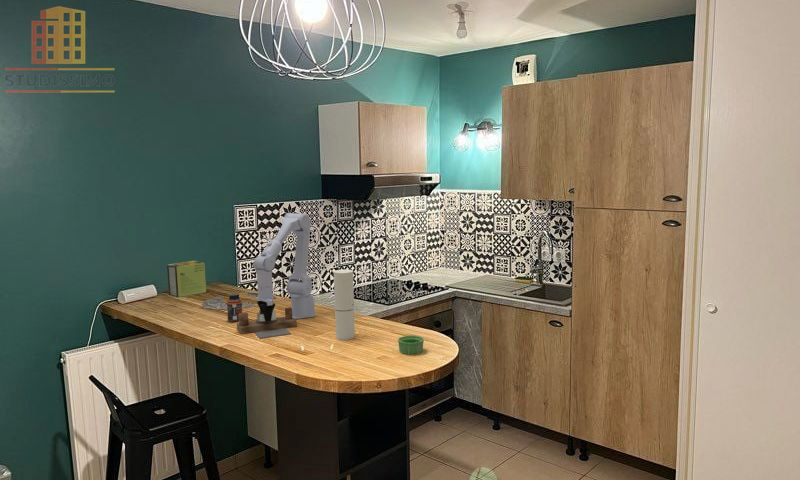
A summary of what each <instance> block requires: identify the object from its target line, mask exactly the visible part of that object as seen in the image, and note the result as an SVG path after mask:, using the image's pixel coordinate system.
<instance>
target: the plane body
mask: <svg viewBox="0 0 800 480" xmlns="http://www.w3.org/2000/svg"><path fill="white" fill-rule="evenodd" d="M297 324H298V323H297V319H294V318H293V317H292V306H290V307H284V316H283V317H276V320H271V321H267V322H266V321H262V322H260V321H259V320H258V319H255V320H252V321H251V320H250V321H249V312H242V313H239V321H238V322H236V330H237V332H239V334H240V335H246V334H252V333H253V334H255V332H262V331H269V330H276V329H284V328H286V329H289V328H297V327H298V326H297Z"/></svg>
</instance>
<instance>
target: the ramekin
mask: <svg viewBox="0 0 800 480" xmlns="http://www.w3.org/2000/svg"><path fill="white" fill-rule="evenodd" d="M424 342H425V338H424V337H422V336H419V335H403V336H400V337H398V339H397V343H398V349H399V352H400V353H401V354H402V355H403V354H404V355H408V354H409V355H411V354H413V355H418V353H419V354H421V353H422V352H424V351H423V350H424Z"/></svg>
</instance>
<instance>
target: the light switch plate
mask: <svg viewBox="0 0 800 480" xmlns="http://www.w3.org/2000/svg"><path fill="white" fill-rule="evenodd" d="M276 313H277V312H276V311H274V310H273V313H272V318H271V320H276V318H277V314H276ZM256 320H259V321H260V322H262V321H265V318H264V313H263V310H260V309H259V311H258V312H256Z"/></svg>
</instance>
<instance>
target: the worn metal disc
mask: <svg viewBox="0 0 800 480" xmlns="http://www.w3.org/2000/svg"><path fill="white" fill-rule="evenodd" d="M247 293H248V294H247V295H248V296H249V295H250V296H252V297H254V296H256V297H258V296H257V295H258V292H247ZM223 297H224V296H223V295H219V296H214V297H211V298H208V299H206V300H204V301H203V302H202V303H201V306H202V308H203V309H207V310H211V311H227V303H226V304H225V302H223V301H224V298H223ZM256 297H255V298H256ZM222 298H223V301H222ZM273 299H277V300H278V298H277V297H276V296H275V295H273ZM250 307H251V308H255V305H254V303H253V304H252V305H251V302H250V303H249V304H248V302H244V303H243V304H242V310H243V308H244V309H250ZM257 307H259V306H258V304H257Z"/></svg>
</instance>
